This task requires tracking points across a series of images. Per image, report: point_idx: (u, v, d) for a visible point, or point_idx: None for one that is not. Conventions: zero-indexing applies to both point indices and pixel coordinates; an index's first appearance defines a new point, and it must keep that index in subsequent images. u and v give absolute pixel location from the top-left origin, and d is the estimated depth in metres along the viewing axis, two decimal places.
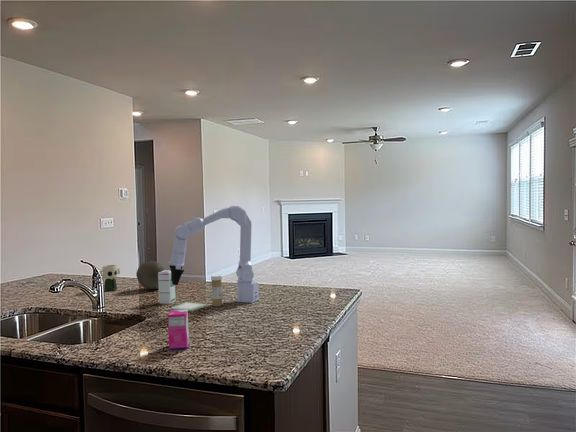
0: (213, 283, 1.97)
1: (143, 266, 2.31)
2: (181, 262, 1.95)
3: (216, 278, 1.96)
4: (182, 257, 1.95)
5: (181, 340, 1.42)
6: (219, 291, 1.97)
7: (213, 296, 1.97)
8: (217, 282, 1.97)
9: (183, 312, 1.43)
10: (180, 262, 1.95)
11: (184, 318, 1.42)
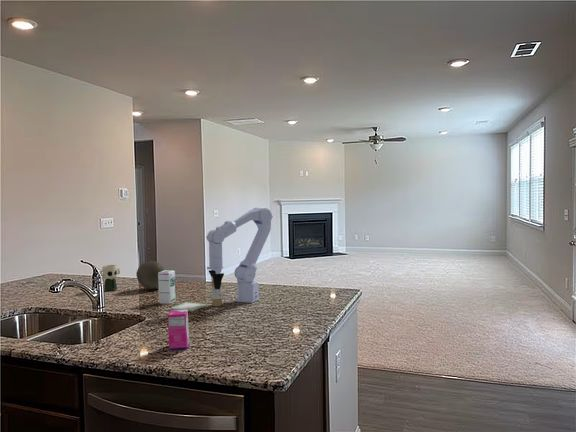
0: (213, 283, 1.97)
1: (143, 266, 2.31)
2: (220, 266, 1.97)
3: None
4: (220, 261, 1.97)
5: (181, 340, 1.42)
6: (219, 291, 1.97)
7: (213, 296, 1.97)
8: None
9: (183, 312, 1.44)
10: (219, 266, 1.96)
11: (184, 318, 1.42)
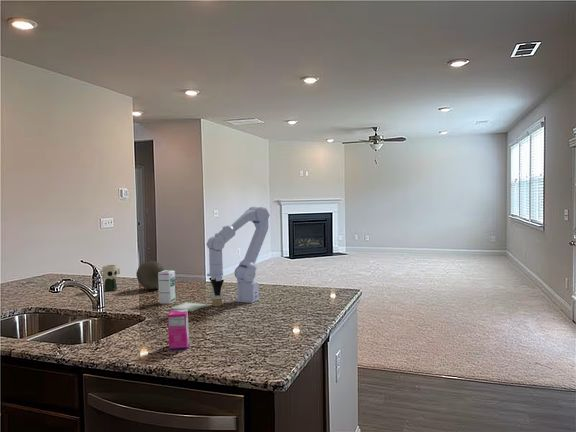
0: None
1: (143, 266, 2.31)
2: (220, 273, 1.97)
3: None
4: (220, 268, 1.97)
5: (181, 340, 1.42)
6: None
7: (213, 296, 1.97)
8: None
9: (183, 312, 1.43)
10: (219, 273, 1.96)
11: (184, 318, 1.42)
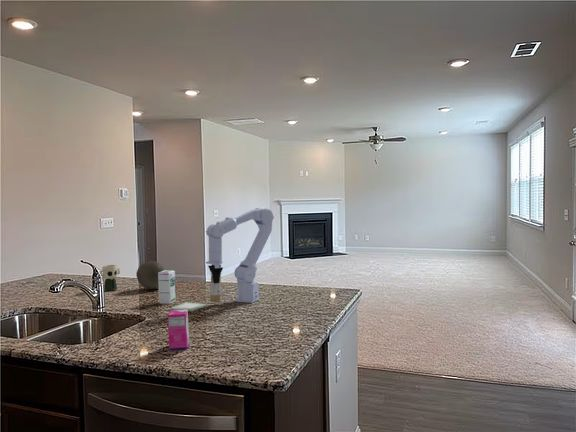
0: (212, 279, 1.97)
1: (143, 266, 2.31)
2: (219, 261, 1.96)
3: None
4: (219, 255, 1.96)
5: (181, 340, 1.42)
6: (218, 287, 1.97)
7: (212, 292, 1.97)
8: None
9: (183, 312, 1.43)
10: (218, 261, 1.96)
11: (184, 318, 1.42)
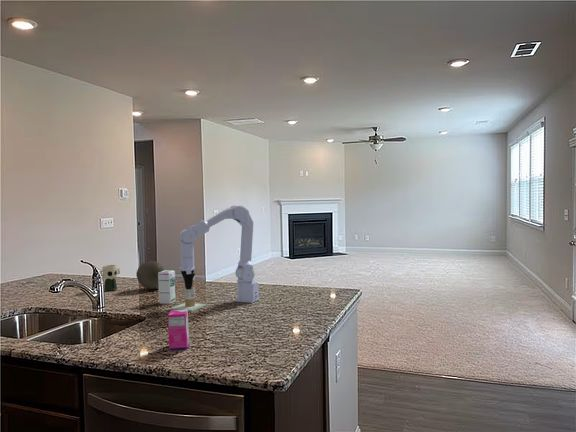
0: None
1: (143, 266, 2.31)
2: (191, 266, 1.94)
3: None
4: (191, 261, 1.94)
5: (181, 340, 1.42)
6: (192, 291, 1.95)
7: (186, 296, 1.95)
8: None
9: (183, 312, 1.43)
10: (190, 266, 1.93)
11: (184, 318, 1.42)
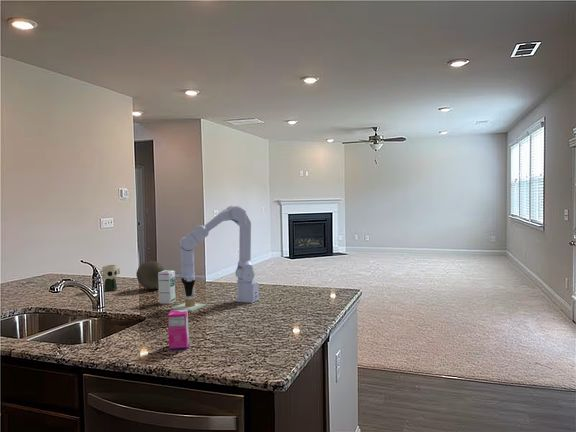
0: None
1: (143, 266, 2.31)
2: (191, 273, 1.94)
3: None
4: (191, 268, 1.94)
5: (181, 340, 1.42)
6: (192, 291, 1.95)
7: (186, 296, 1.95)
8: None
9: (183, 312, 1.43)
10: (190, 273, 1.94)
11: (184, 318, 1.42)
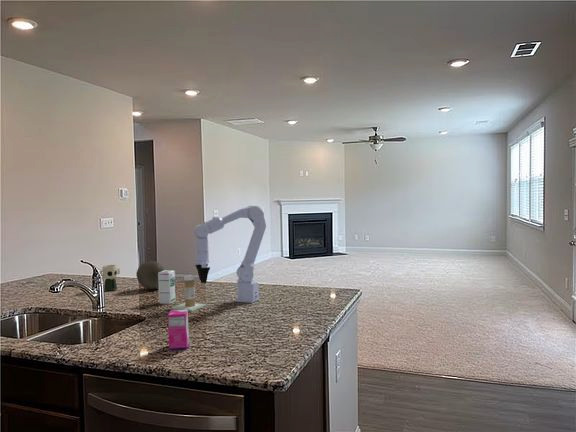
0: (185, 283, 1.95)
1: (143, 266, 2.31)
2: (206, 260, 1.99)
3: (188, 278, 1.94)
4: (206, 255, 1.99)
5: (181, 340, 1.42)
6: (192, 291, 1.95)
7: (186, 296, 1.95)
8: (189, 282, 1.94)
9: (183, 312, 1.43)
10: (205, 260, 1.99)
11: (184, 318, 1.42)
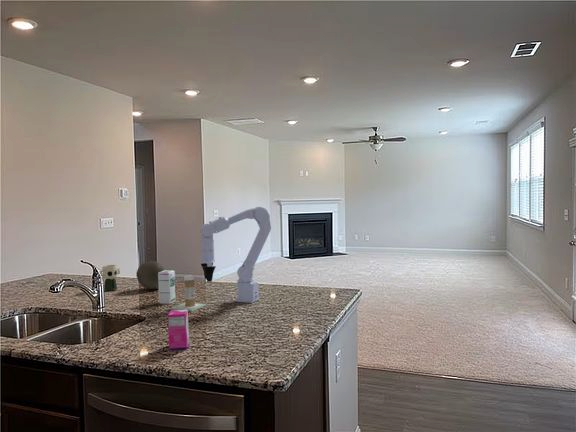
0: (186, 283, 1.95)
1: (143, 266, 2.31)
2: (211, 259, 2.01)
3: (188, 278, 1.94)
4: (211, 254, 2.02)
5: (181, 340, 1.42)
6: (192, 291, 1.95)
7: (186, 296, 1.95)
8: (189, 282, 1.94)
9: (183, 312, 1.44)
10: (210, 259, 2.01)
11: (184, 318, 1.42)
